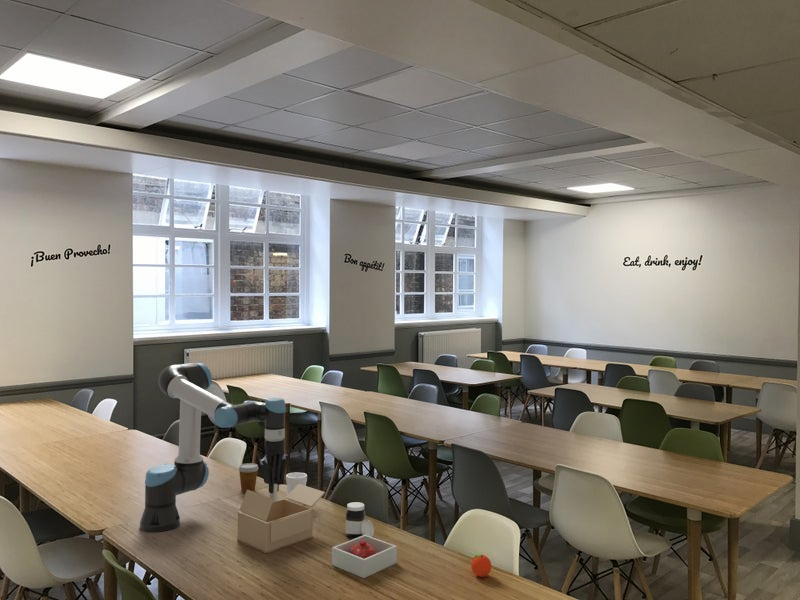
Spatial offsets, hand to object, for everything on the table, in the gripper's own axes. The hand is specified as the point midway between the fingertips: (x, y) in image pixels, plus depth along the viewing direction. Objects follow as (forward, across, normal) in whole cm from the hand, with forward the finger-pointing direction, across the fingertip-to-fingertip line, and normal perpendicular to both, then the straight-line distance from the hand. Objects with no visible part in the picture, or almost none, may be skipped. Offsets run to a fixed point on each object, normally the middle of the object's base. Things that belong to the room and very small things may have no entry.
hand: (273, 500), depth 239 cm
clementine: (+16, +29, -75) cm, 82 cm away
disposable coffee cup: (+16, +31, +59) cm, 68 cm away
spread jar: (+16, +27, -20) cm, 37 cm away
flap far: (+2, +16, +1) cm, 17 cm away
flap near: (0, -7, +1) cm, 7 cm away
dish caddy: (+15, +9, -40) cm, 44 cm away
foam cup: (+16, +34, +27) cm, 46 cm away
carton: (+15, +2, +1) cm, 16 cm away
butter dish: (+16, +8, -40) cm, 44 cm away
